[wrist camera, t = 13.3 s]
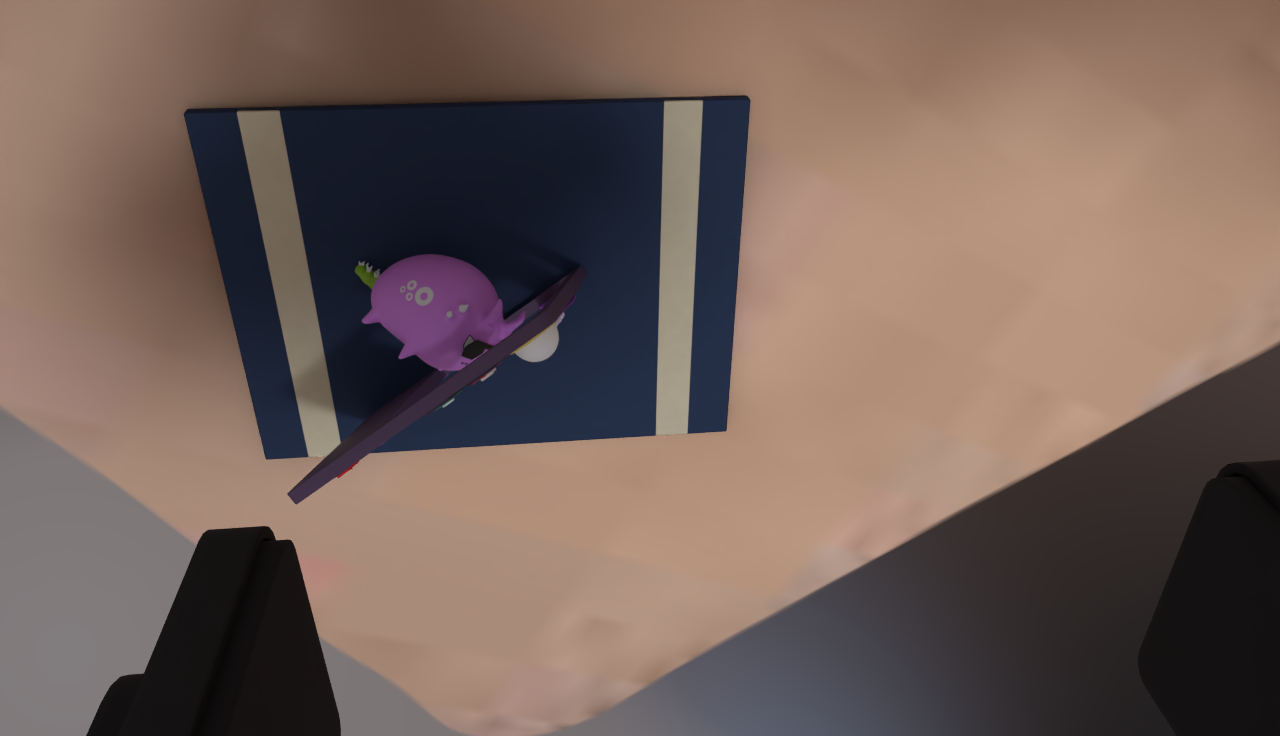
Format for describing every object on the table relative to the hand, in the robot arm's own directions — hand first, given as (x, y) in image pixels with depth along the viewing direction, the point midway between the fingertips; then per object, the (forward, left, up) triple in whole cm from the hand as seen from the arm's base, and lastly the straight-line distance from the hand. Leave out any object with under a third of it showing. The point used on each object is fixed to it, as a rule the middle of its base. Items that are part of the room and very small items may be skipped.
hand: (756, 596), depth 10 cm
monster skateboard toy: (+5, +7, -21) cm, 23 cm away
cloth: (+3, +7, -21) cm, 23 cm away
